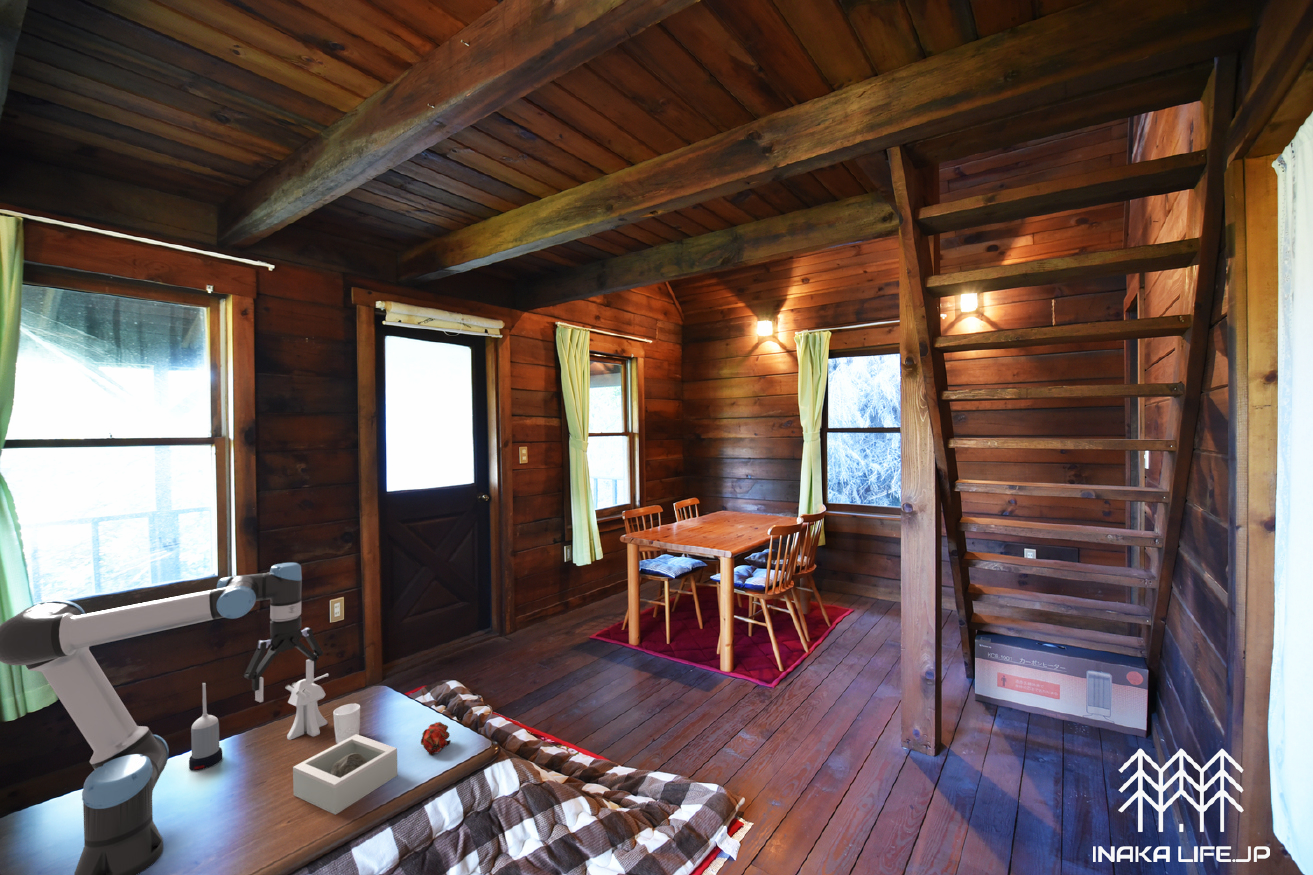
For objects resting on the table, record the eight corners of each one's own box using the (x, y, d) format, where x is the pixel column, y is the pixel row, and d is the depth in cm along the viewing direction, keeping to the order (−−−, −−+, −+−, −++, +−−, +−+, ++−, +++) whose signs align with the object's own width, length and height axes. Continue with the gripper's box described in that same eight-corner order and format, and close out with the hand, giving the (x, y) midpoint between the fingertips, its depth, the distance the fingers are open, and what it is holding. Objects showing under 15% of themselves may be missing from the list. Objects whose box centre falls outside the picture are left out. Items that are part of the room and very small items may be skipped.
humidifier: (193, 773, 167) (191, 691, 167) (185, 764, 172) (183, 684, 172) (226, 760, 174) (224, 681, 174) (218, 752, 179) (216, 675, 179)
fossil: (352, 798, 153) (335, 765, 153) (327, 810, 154) (311, 778, 155) (379, 773, 163) (363, 743, 164) (356, 785, 165) (340, 754, 166)
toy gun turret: (338, 725, 194) (336, 674, 194) (297, 743, 183) (295, 689, 183) (320, 717, 200) (319, 667, 200) (279, 734, 189) (278, 681, 189)
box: (335, 814, 147) (334, 784, 147) (293, 795, 156) (292, 766, 156) (397, 775, 164) (396, 748, 164) (356, 759, 173) (356, 733, 173)
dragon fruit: (438, 743, 184) (438, 768, 173) (415, 734, 180) (413, 758, 169) (454, 721, 185) (454, 744, 173) (431, 711, 181) (430, 734, 170)
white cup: (335, 736, 187) (334, 706, 187) (361, 730, 190) (360, 701, 190) (332, 747, 180) (331, 717, 180) (360, 741, 183) (359, 711, 183)
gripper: (243, 632, 147) (242, 712, 147) (336, 608, 169) (335, 677, 168) (229, 627, 151) (228, 706, 150) (322, 604, 172) (321, 673, 172)
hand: (285, 691), depth 159 cm, fingers open, 13 cm apart
